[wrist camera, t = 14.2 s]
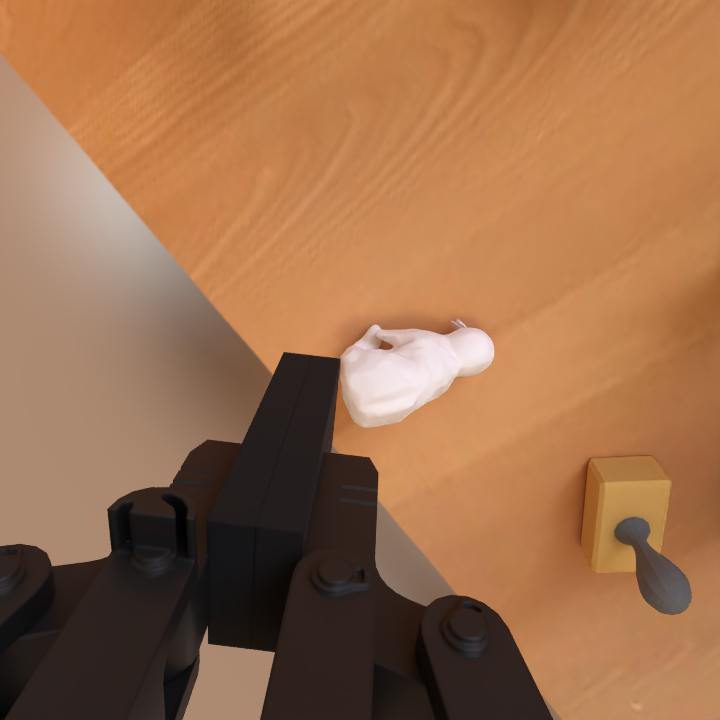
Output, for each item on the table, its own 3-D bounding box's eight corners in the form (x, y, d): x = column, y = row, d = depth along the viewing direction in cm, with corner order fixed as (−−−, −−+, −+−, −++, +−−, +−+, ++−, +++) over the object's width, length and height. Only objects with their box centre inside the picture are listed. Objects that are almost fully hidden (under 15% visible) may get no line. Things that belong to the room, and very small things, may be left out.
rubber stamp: (641, 543, 53) (706, 655, 42) (579, 545, 53) (627, 656, 42) (654, 455, 49) (730, 554, 38) (587, 458, 49) (642, 556, 38)
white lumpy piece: (331, 373, 37) (506, 331, 37) (332, 330, 45) (476, 295, 45) (354, 451, 40) (519, 412, 39) (351, 397, 48) (488, 365, 47)
